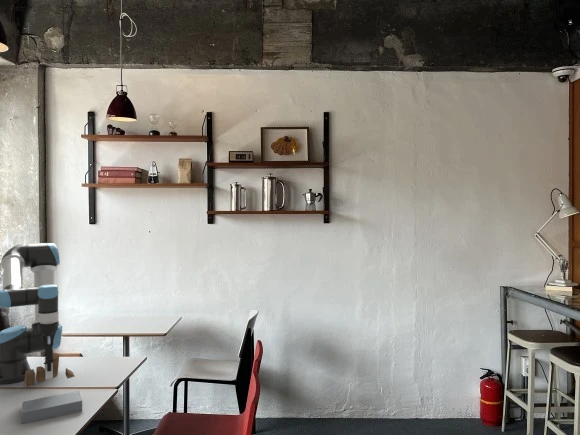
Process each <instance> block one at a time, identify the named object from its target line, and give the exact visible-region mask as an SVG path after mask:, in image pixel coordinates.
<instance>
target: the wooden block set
mask: <svg viewBox="0 0 580 435" xmlns="http://www.w3.org/2000/svg"><path fill="white" fill-rule="evenodd" d="M59 364H60V354H59V353H57V352H53V378H52V379H55V378H57V377H58V374H59ZM35 370H36V371H35ZM35 370H34V369H33V368H32V369H31V370H28V371H25V380H24V385H25V387H26V388H29V387H32V386H35V384H36V382H37V384H38V383H43V382H45V381H46V380H47V379H45V367H44V366H37V367H36V369H35ZM64 373H65V376H66V379H72V378H74V377H76V375H75V374H74V372H73V371H72V370H70V369H68V368H67V367H65V372H64Z"/></svg>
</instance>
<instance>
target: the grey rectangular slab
mask: <svg viewBox="0 0 580 435" xmlns="http://www.w3.org/2000/svg"><path fill="white" fill-rule="evenodd" d="M21 404H22V405H21V407H22V408H21V424H28V423H32V421H33V422H36V421H41V420H45V419H51V418H55V417H59V416H65V415H68V414H69V415H70V414H73V413H74V414H75V413H78V412H83V398H82V395H81V391H80V390H77V391H76V390H75V391H71V392H66V393H61V394H57V395H56V394H54V395H51V396H46V397H40V398H35V399H30V400H25V401H22V403H21Z"/></svg>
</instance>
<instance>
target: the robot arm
mask: <svg viewBox="0 0 580 435" xmlns="http://www.w3.org/2000/svg"><path fill="white" fill-rule="evenodd" d="M59 252H60V251H59V249H58V245H56V244H55V243H53V242H51V243H49V242H45V243H44V242H41V243H21V244H20V243H19V244H17V245H14V246H12V247H11V248H10V249H8V250H7V251H6V252H5V253H4V254H3V256H2V258H1V259H0V260H1V261H0V262H1V263H0V265H1V267H2V269H3V273H2V275H3V276H2V277H3V278H2V289H0V309H2V308H15V307H24V306H34V321H33V322H32V323H31V327H29V328H28V327H27V326H26V325H25V324H24V325H23V324H22V325H16V326H10V327H7V328H5V329H3V330H1V331H0V385H7V384H8V385H9V384H15V383H19V382H21V381H25V371H28V370H32V369H31V366H30V364H29V361H28V354H34V353H42V352H43V353H44V362H43V365H44V368H45V379H46V380H50V379H54V378H53V353H54V352H53V351H54V350H57V349H59V348H60V346H61V342H62V336H63V324H62V323H60V322H59V288H58V285H57V284H55V278H54V277H55V276H54V272H55V271H56V270H57V266H59V265H61V262H60V254H59ZM29 267H30V271H31V272H32V273H33V275H34V277H33V279H34V280H33V284H34V285H33V286H34V287H24V283H23V282H24V281H23V276H24V274H23V268H29Z"/></svg>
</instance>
